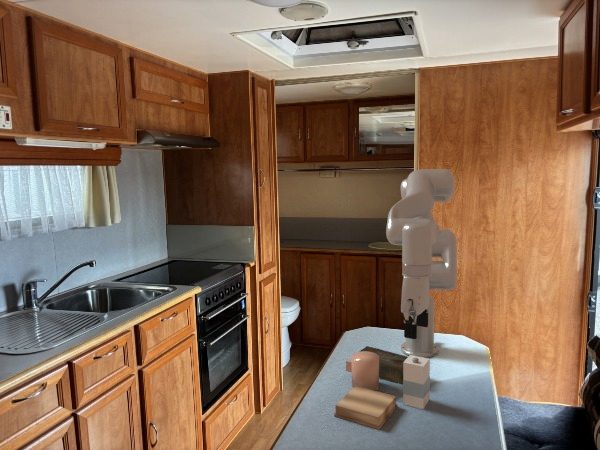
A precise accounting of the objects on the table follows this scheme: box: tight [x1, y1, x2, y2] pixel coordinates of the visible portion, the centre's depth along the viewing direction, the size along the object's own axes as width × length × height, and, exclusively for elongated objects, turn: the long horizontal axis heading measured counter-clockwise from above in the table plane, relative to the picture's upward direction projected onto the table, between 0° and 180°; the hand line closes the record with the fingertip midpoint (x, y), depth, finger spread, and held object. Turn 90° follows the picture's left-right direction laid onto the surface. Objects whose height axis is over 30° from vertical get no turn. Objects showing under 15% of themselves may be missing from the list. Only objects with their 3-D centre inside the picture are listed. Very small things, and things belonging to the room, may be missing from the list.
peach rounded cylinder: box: [345, 350, 380, 391], centre depth 139 cm, size 8×10×9 cm
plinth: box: [333, 386, 398, 430], centre depth 125 cm, size 13×13×3 cm
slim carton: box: [402, 355, 431, 410], centre depth 128 cm, size 6×6×13 cm
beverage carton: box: [358, 345, 409, 386], centre depth 146 cm, size 8×19×7 cm, turn 52°
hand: (416, 332), depth 126 cm, fingers open, 9 cm apart
